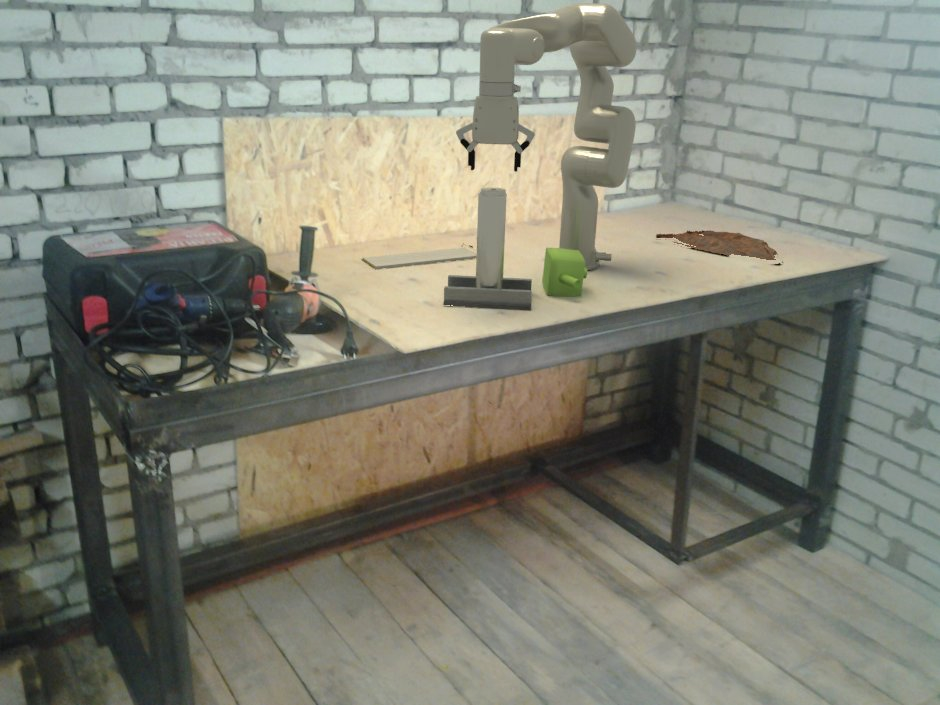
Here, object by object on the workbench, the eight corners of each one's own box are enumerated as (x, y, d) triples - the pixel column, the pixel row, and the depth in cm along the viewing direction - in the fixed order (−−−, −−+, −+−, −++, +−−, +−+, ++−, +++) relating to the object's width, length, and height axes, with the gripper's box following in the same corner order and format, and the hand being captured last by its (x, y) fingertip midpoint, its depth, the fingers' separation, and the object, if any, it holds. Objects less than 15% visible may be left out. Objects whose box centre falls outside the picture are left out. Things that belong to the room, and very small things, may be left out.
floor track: (530, 293, 211) (531, 277, 210) (530, 310, 199) (531, 293, 198) (448, 289, 212) (449, 273, 211) (443, 306, 200) (443, 289, 199)
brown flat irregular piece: (653, 246, 270) (654, 230, 268) (717, 238, 284) (718, 222, 283) (755, 270, 238) (757, 252, 237) (821, 259, 253) (824, 242, 251)
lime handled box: (590, 304, 206) (596, 266, 203) (549, 302, 206) (553, 263, 202) (579, 281, 223) (583, 245, 219) (540, 279, 222) (544, 243, 219)
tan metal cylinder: (485, 289, 210) (489, 185, 201) (507, 294, 206) (512, 188, 198) (469, 295, 205) (472, 188, 196) (492, 300, 201) (496, 192, 193)
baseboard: (359, 260, 237) (375, 272, 228) (359, 250, 236) (375, 261, 227) (460, 250, 251) (480, 260, 241) (460, 240, 250) (480, 250, 240)
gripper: (536, 89, 192) (533, 168, 198) (458, 87, 193) (457, 165, 199) (536, 93, 185) (532, 174, 191) (455, 90, 186) (454, 171, 192)
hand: (494, 169), depth 195 cm, fingers open, 9 cm apart
